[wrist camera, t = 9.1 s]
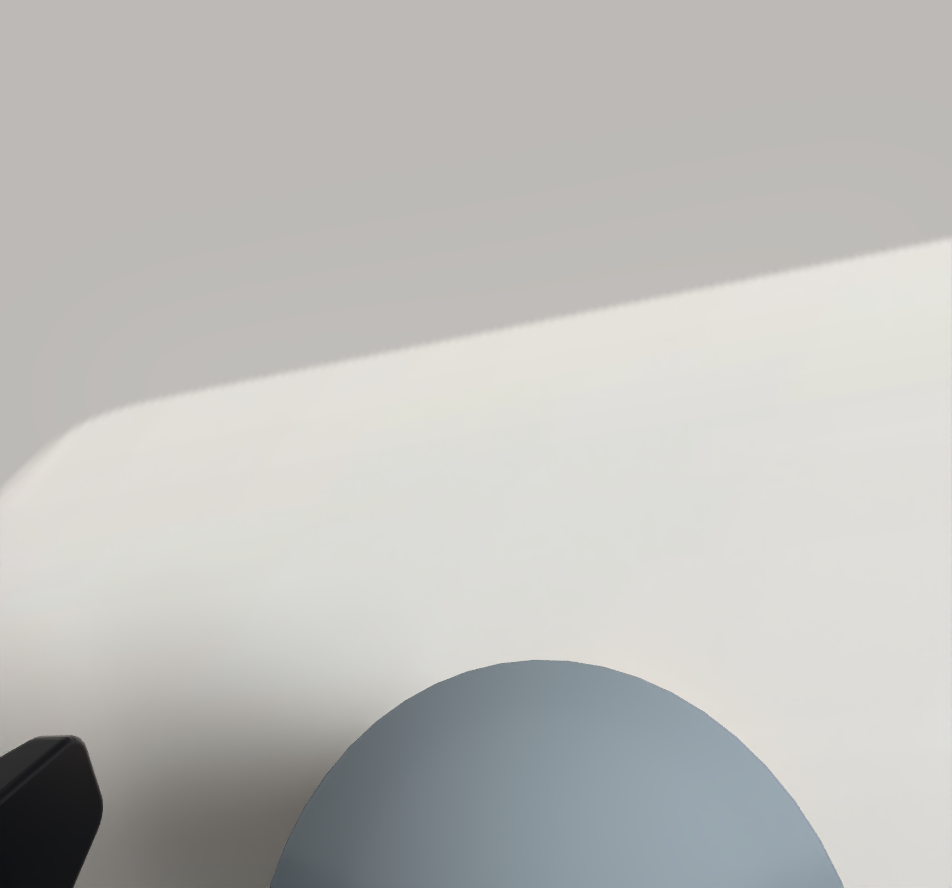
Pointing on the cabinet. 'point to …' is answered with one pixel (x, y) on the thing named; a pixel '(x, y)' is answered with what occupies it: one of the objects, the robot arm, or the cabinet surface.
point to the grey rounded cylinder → (551, 794)
